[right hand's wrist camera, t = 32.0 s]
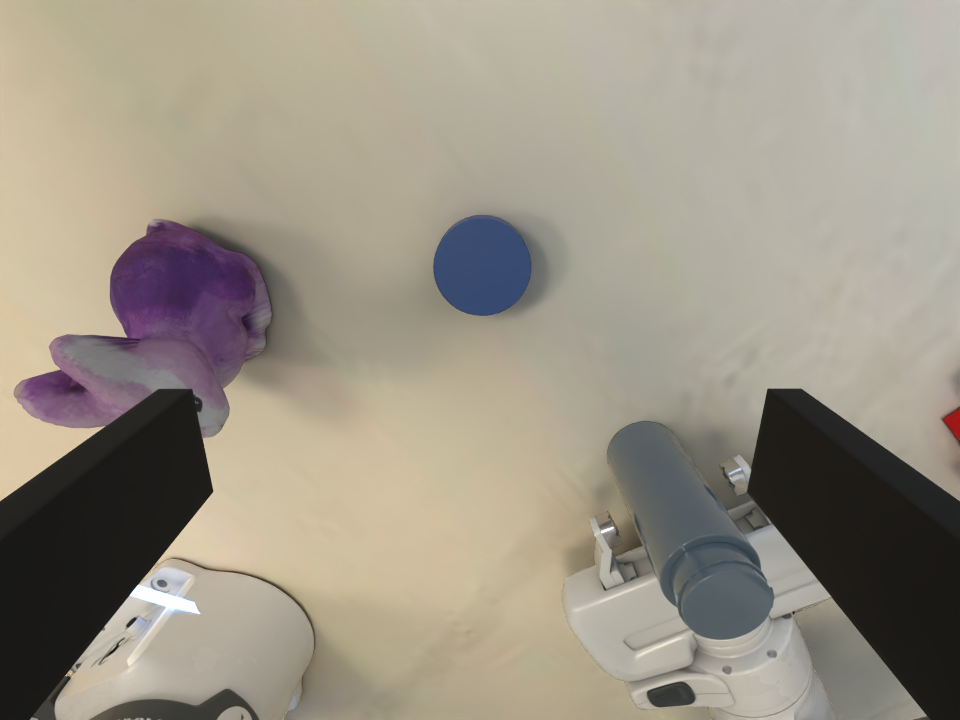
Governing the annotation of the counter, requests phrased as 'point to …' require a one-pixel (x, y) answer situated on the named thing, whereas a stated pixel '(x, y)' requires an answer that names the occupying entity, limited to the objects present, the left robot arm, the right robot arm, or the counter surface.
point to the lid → (482, 265)
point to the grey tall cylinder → (688, 535)
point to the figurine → (159, 334)
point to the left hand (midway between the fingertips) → (665, 492)
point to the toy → (954, 423)
